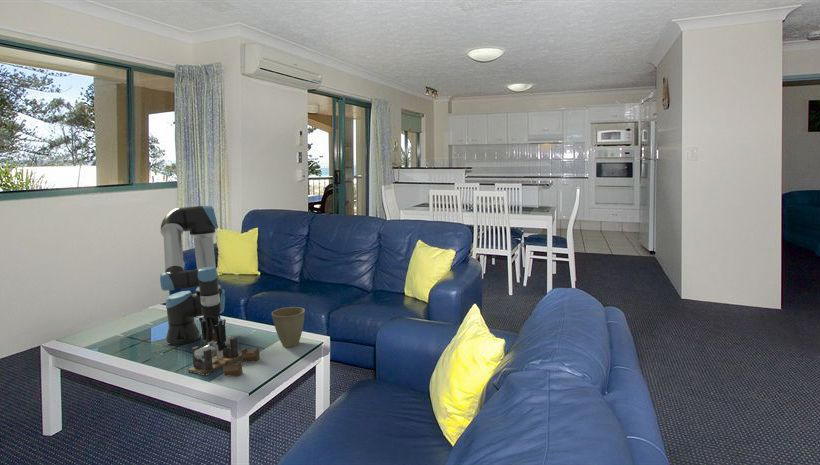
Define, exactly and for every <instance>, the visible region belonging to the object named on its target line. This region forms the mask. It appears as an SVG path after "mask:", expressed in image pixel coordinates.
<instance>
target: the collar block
mask: <svg viewBox="0 0 820 465" xmlns="http://www.w3.org/2000/svg"><path fill="white" fill-rule="evenodd" d="M238 347H239V346H238V338H237V337H236V336H233V338H231V339H230V347H225V348H224V349H223V357H221V358H219V359H217V355H214V356H212V355H211V349H206V350H204V351H203V352H204V357H203V358H201V359H196V358H195V356H194V352H195V350H197V349H200V346H194V347H192V348H191V356H192V365H193V366H192V367H189V368H187V372H188V371H192V372H196V373H200V374H204V375H206V374H208V373H210V374H212V373H213V371H214V372H216V371H218V370H221V368H222V369H223V363H224V362H225V361H227V360H229V363H234V362H236V361H238V360H240V359H242V352H239V348H238ZM215 370H216V371H215ZM211 372H212V373H211ZM204 375H203V376H204ZM208 375H209V374H208ZM206 376H207V375H206Z"/></svg>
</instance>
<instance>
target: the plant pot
mask: <svg viewBox="0 0 820 465" xmlns="http://www.w3.org/2000/svg"><path fill="white" fill-rule="evenodd" d="M305 310H306V309H305V308H303V307H298V306H289V307H287V306H286V307H282V308H277V309H275V310H273V311H272V312H271V318H272V320H273V325H274V328H275V332H276V334H277V337H278V339H279V341H280V344H281V345H282V346H283V347H284V348H293V347H297V346H298V345H299V343H300V341H301V338H302V337H301V336H302V333H303V328H304V321H305Z"/></svg>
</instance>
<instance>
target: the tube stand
mask: <svg viewBox="0 0 820 465" xmlns="http://www.w3.org/2000/svg"><path fill="white" fill-rule="evenodd" d="M241 354H242V358H241V359H242V360H239V361H237V362H235V363H234V362H232V363H229V360H227V361H225V362H224V363H223V367H222V370H223V375H224V376H228V375H231V376H230V377H232V376H233V377H240V376H242V374H243V362H248V363H249V362H250V363H257V362H259V361H260V360H261V355H260V347H257V348H254V349H248V347H247V346H245V347H244V348H242V349H241Z"/></svg>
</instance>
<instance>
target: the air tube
mask: <svg viewBox="0 0 820 465" xmlns="http://www.w3.org/2000/svg"><path fill="white" fill-rule="evenodd" d="M233 337H234V336H233V335H228V336H226V341H225V342H223V349H224V348H225V347H227V348H229V347H231V345H230V339H231V338H233ZM219 341H220V340H219ZM215 343H217V342H214V343H211V344H209V345H207V344H206V345H205V346H202V347H199V349H197V350H195V352H194V356H195V358H196V359H204V352H203V351H204V350H206V349H211V354H212V353H214V352H216V345H215Z"/></svg>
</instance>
